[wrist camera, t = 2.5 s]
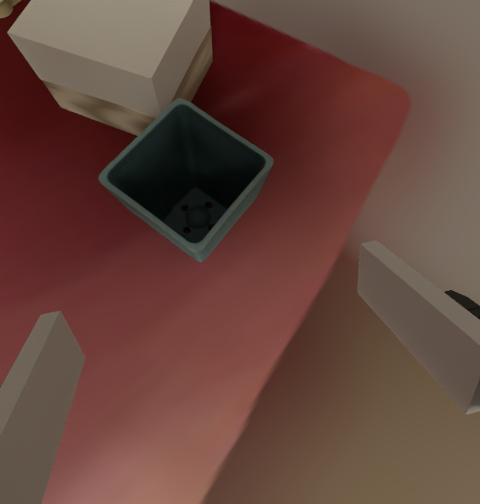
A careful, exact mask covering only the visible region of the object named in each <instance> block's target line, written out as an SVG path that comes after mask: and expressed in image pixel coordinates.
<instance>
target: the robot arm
mask: <svg viewBox="0 0 480 504" xmlns="http://www.w3.org/2000/svg"><path fill="white" fill-rule="evenodd" d="M358 274H359V275H358V290H357V293H358V294H359V295H360V296H361V297H362V298H363V299H364V301H366V303H367V304H368V305H369V306H370V307H371V308H372V310H373V311H374V312H375V313H376V314H377V315H378V316H379V317H380V318H381V320H382V321H383V322H384V323H385V324H386V325H387V326H388V327H389V329H391V331H392V332H393V333H394V334H395V335H396V336H397V338H398V339H399V340H400V341H401V342H402V343H403V344H404V345H405V347H407V349H408V350H409V351H410V352H411V353H412V354H413V356H414V357H415V358H416V359H417V360H418V361H419V362H420V363H421V364H422V366H423V367H424V368H425V369H426V370H427V371H428V372H429V373H430V375H431V376H432V377H433V378H434V379H435V380H436V381H437V382H438V384H439V385H440V386H441V387H442V388H443V389H444V390H445V391H446V393H447V394H448V395H449V396H450V397H451V398H452V399H453V400H454V402H455V403H456V404H457V405H458V406H459V407H460V408H461V409H462V410H463V412H464V413H465V414H466V415H467V414H471V413H474V412H477V411H480V306H479V305H478V304H476V303H475V302H474V301H472V300H471V299H469V298H468V297H466V296H464V295H461V294H459V293H457V292H454V291H452V290H450V291H446V292H443V291H442V290H440V289H439V288H438V287H436V286H435V285H434V284H432V283H431V282H430V281H428V280H427V279H426V278H425V277H423V276H422V275H421V274H419V273H418V272H417V271H415V270H414V269H413V268H412V267H410V266H409V265H408V264H406V263H405V262H404V261H402V260H401V259H400V258H398V257H397V256H396V255H395V254H393V253H392V252H391V251H389V250H388V249H387V248H385V247H384V246H383V245H382V244H380V243H379V242H378V241H376V240H375V241H371V242H366V243H362V244H360V258H359V273H358ZM84 361H85V356H84V354H83V352H82V350H81V348H80V346H79V344H78V343H77V341H76V339H75V337H74V335H73V333H72V331H71V330H70V328H69V326H68V324H67V322H66V320H65V318H64V317H63V315H62V313H61V311H56V312H51V313H47V314H42V315H40V317H39V319H38V321H37V322H36V324H35V326H34V328H33V330H32V332H31V333H30V335H29V337H28V339H27V341H26V342H25V344H24V346H23V348H22V350H21V352H20V353H19V355H18V357H17V359H16V361H15V362H14V364H13V366H12V368H11V370H10V372H9V373H8V375H7V377H6V379H5V381H4V383H3V384H2V386H1V388H0V504H41V503H42V500H43V496H44V493H45V490H46V486H47V483H48V480H49V476H50V473H51V470H52V466H53V463H54V460H55V457H56V453H57V450H58V447H59V443H60V440H61V437H62V433H63V430H64V427H65V424H66V420H67V417H68V414H69V410H70V407H71V404H72V400H73V397H74V394H75V390H76V387H77V384H78V381H79V377H80V374H81V371H82V367H83V364H84Z"/></svg>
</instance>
